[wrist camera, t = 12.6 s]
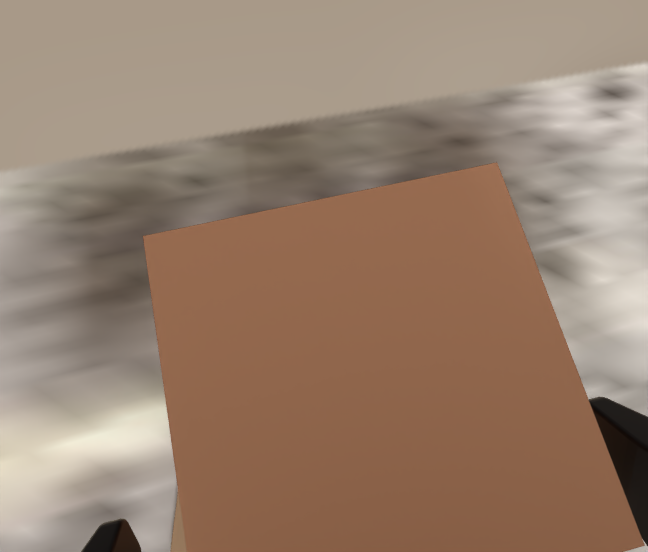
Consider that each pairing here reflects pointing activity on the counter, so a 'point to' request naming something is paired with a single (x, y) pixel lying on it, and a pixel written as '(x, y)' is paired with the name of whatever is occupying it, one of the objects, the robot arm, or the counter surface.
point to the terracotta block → (377, 380)
